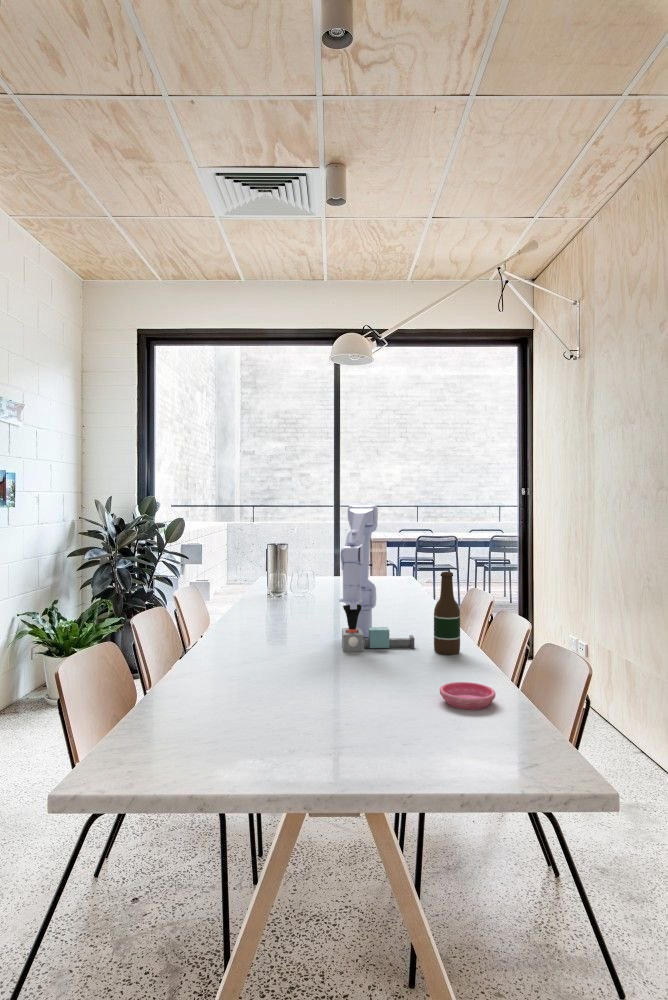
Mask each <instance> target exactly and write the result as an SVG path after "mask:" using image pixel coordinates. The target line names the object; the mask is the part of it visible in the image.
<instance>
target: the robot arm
mask: <svg viewBox="0 0 668 1000" xmlns="http://www.w3.org/2000/svg"><path fill="white" fill-rule="evenodd" d="M378 511H379V509H378V506H377V505H376V504H373V505H372V504H370V505H369V504H364V505H363V504H361V505H360V504H358V505H357V504H355V505H353V504H349V505H348V507H347V521H348V523H349V528H350V531H349V532H348V533H347V534H346V537H345V544H344V546H343V547H341V548H340V562H341V570H342V598H339V599H338V602H340V603H344V604H345V605H342V608H343V610H344V613H345V616H346V621H347V628H349V629H356V628H361V630H362V633H363V638H369V628H368V627H373V617H372V616H373V614H372V613H373V609H374V608H375V607H376V605H377V586H376V585H375V583H374V582H372V581H371V580H370V579H369V569H370V552H371V547H370V546H371V538H372V535H373V534H372V533H374V532H376V531H377V530H378V529H377V528H378V519H379V518H378V516H379V515H378V514H379V512H378Z"/></svg>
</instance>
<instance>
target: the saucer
mask: <svg viewBox="0 0 668 1000" xmlns="http://www.w3.org/2000/svg"><path fill="white" fill-rule="evenodd" d="M439 694H440V696H441V697H442V699H444V700H445V701H446V704H447V705H449V706H451V707H454V708H457V709H462V710H480V709H485V708H487V707H488V706H489V705H490V704H491V703H492V702H493V701H494V700H495V699H496V691H495V690H494V689H493V688H492V687H490V686H488V685H485V684H481V683H477V682H469V681H468V682H467V681H456V682H448V683H444V684H443V685H441V686H440V688H439Z"/></svg>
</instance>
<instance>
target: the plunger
mask: <svg viewBox="0 0 668 1000" xmlns="http://www.w3.org/2000/svg"><path fill="white" fill-rule="evenodd" d="M347 628H348V633H357V628H356V629H349V627H347Z"/></svg>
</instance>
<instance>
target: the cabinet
mask: <svg viewBox="0 0 668 1000" xmlns="http://www.w3.org/2000/svg"><path fill="white" fill-rule="evenodd" d="M348 628H349V627H346V628H345V627H343V628H342V627H341V646H342V647H341V648H342V650H343V653H345V652H349V653H350V652H351V653H352V652H364V637H363V633H362V630H361V628H357V633H348Z"/></svg>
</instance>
